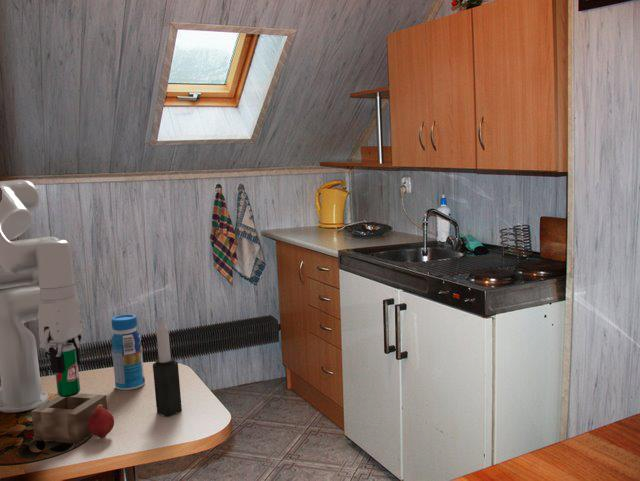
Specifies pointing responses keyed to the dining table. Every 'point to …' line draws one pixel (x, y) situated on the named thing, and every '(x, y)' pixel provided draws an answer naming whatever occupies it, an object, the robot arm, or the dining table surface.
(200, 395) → the dining table surface
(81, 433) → the well block
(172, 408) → the black handled stick
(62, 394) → the soda can
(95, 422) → the onion
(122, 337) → the beverage bottle
